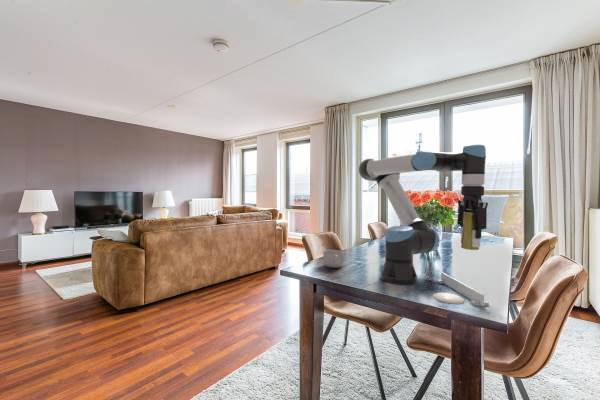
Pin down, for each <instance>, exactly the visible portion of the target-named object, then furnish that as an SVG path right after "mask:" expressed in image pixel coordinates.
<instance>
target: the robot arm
mask: <svg viewBox="0 0 600 400" xmlns="http://www.w3.org/2000/svg"><path fill="white" fill-rule="evenodd" d="M486 150H487V149H486V146H485V145H484V144H469V145H468V144H467V145H464V146H463V147H462V151H460V152H459V151H458V152H444V151H432V150H427V149H426V150H425V149H424V150H421V149H420V150H417V151H416V152H415V153H410V154H405V155H404V154H403V155H399V156H392V157H385V158H381V159H379V158H374V157H373V158H366V159H364V160H362V162H360V163H359V165H358V173H359V176H360V177H361V178H362V179H364V180H365V181H369V182H376V183H377V185H378V187H379V188H381V189H383V191H384V192H385V194H386V196H387V198H388V200H389V202H390V204H391V206H392V209H393V210H394V212H395V214H396V215H397V218H398V219H399V221H400V223H401V225H396V226H395V225H394V226H391V227H388V228H387V229H386V231H385V236H384V240H385V242H384V244H385V245H384V247H385V248H384V249H385V253H384V257H385V258H384V263H383V266H382V269H381V272H380V279H381V280H383V281H385V282H387V283H391V284H394V285H403V286H404V285H405V286H409V285H414V284H416V283H417V282H418V276H417V271H416V269H415V266H414V255H420V254H428V253H431V252H433V251H436V250H437V248H438V246H439V243H440V234H439V232H438V231H437V230H436V229H435V227H431V226H429V225H428V224H427V222H426V220H424V219H421V218H420V217H419V215H418V213H417V211H416V210H415V208H414V206H413V204H412V202H411V201H410V199H409V196H408V195H407V193H406V192H405V190H404V188H403V185H402V184H401V183H400V179H401V176H400V174H403V173H404V174H405V173H411V172H422V171H423V172H425V171H436V172H443V173H447V172H458V171H460V172H461V182H460V183H461V185H462V186H461V189H460V190H461V191H460V195H461V196H463V197H462V200H457V206H458V209H457V221H456V222H457V223H456V224H457V225H459V227H460V244H462V232H463V216H464V212H472V213H473V215H472V217H473V223H474V228H473V232H472V247H479V248H480V247H481V240H482V239H481V238H482V231H483V230H486V229H487V221H488V220H487V215H488V214H487V212H488V211H487V210H488V209H487V208H488V205H489V203H488V202H487V201H486V202H485V201H483V199H482V197H483V196H484V195H485V187H484V185H485V178H486V177H485V176H486V175H485V174H486V173H485V172H486V158H487V152H486ZM477 226H478V227H477Z"/></svg>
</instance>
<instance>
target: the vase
mask: <svg viewBox="0 0 600 400" xmlns="http://www.w3.org/2000/svg"><path fill="white" fill-rule="evenodd" d="M472 215H473V213H472V212H464V216H463V232H462V243H461V245H460V248H462V249H464V250H467V251H468V250H470V251H479V250H480V247H472V232H473V228H474V223H473V217H472ZM477 227H478V226H477Z"/></svg>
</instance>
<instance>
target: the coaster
mask: <svg viewBox="0 0 600 400" xmlns="http://www.w3.org/2000/svg"><path fill="white" fill-rule="evenodd" d="M432 296H433V298H434V300H437V301H438V302H441V303H445V304H451V305H460V304H464V302H465V299H464V298H463V297H462V296H459V295H456V294H453V293H449V292H436V293H433V295H432Z"/></svg>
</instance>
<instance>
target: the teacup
mask: <svg viewBox="0 0 600 400" xmlns="http://www.w3.org/2000/svg"><path fill="white" fill-rule="evenodd" d="M344 259H345V252H344V251H342V250H337V249H324V250H323V264H324V265H325V266H326V267H328V268H340V267H341V266H343V264H344Z"/></svg>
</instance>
